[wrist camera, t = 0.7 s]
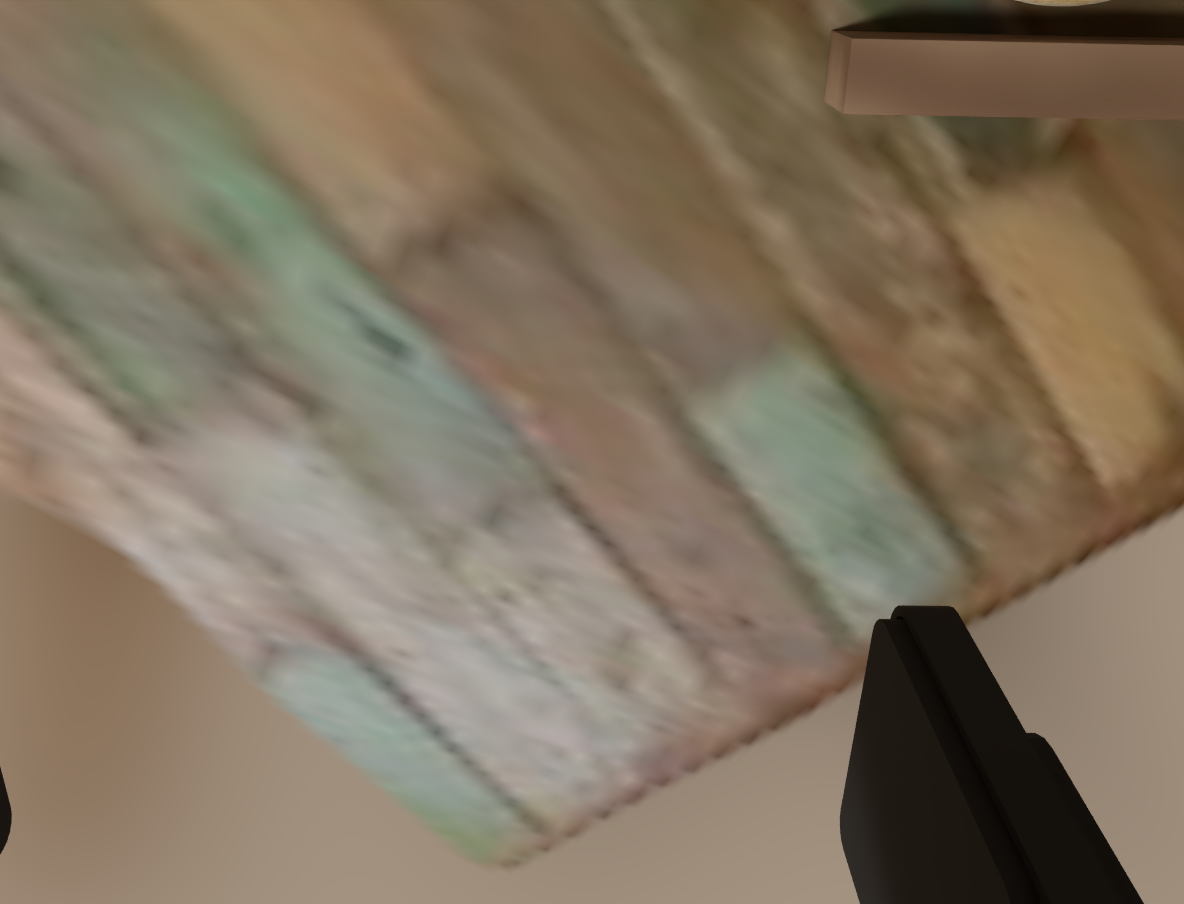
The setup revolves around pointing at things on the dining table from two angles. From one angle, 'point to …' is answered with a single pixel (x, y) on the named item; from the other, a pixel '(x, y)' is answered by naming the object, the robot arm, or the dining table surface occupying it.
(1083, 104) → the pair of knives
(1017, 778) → the robot arm
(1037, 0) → the toy food set
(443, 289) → the dining table surface
